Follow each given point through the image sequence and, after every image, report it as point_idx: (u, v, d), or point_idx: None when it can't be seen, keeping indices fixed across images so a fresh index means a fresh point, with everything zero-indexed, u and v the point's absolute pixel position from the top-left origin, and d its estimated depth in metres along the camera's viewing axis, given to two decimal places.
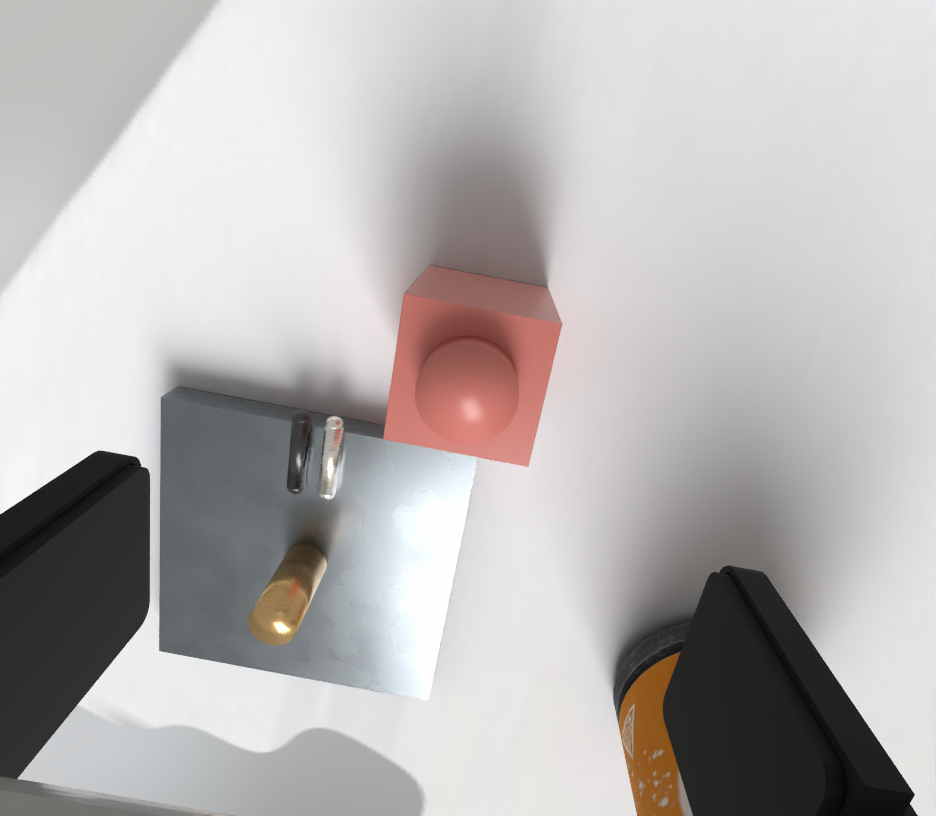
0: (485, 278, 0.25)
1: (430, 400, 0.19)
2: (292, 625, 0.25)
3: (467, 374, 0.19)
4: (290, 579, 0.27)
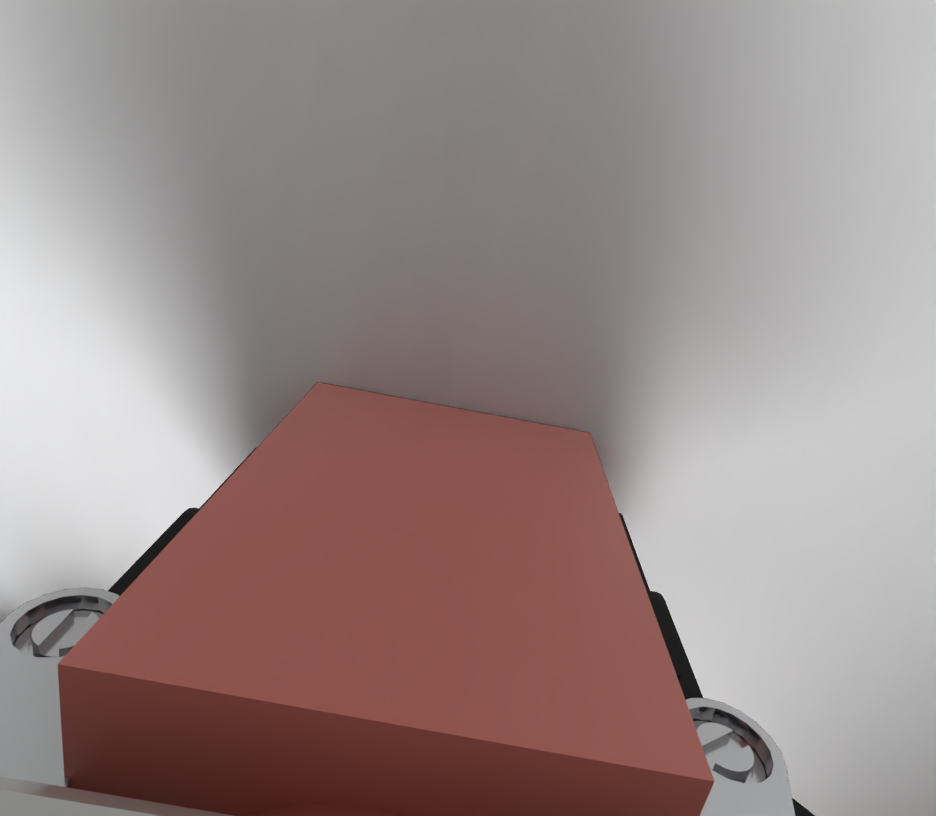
0: (443, 421, 0.11)
1: None
2: None
3: None
4: None
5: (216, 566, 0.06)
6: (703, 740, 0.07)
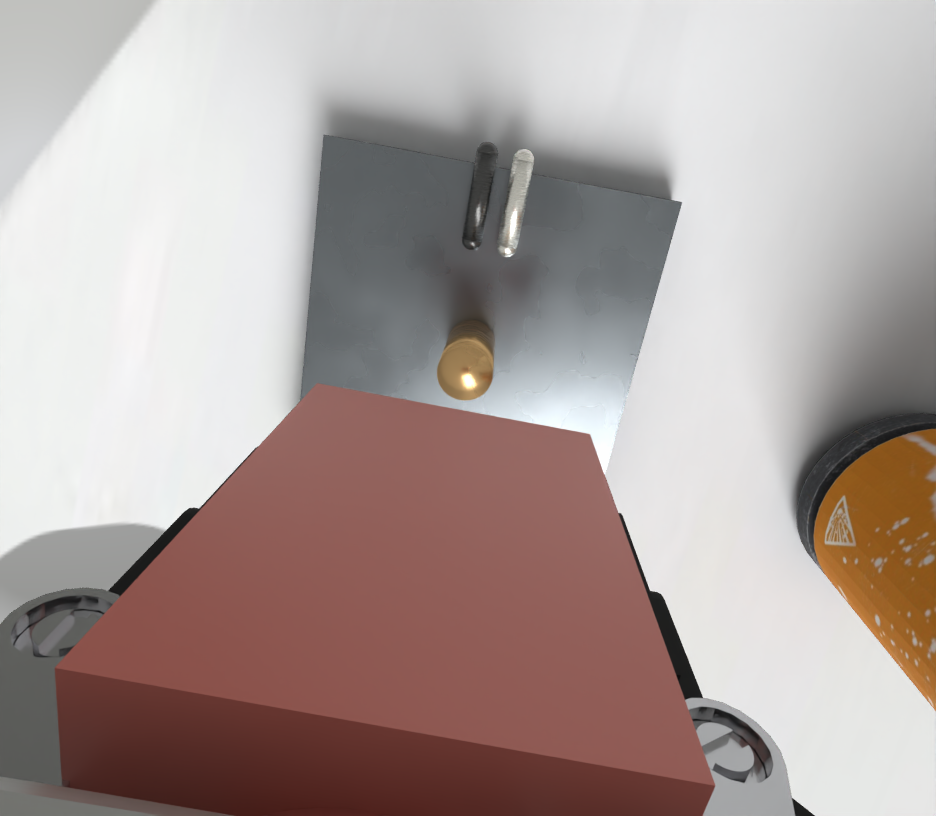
0: (443, 422, 0.10)
1: None
2: (488, 373, 0.22)
3: None
4: (474, 336, 0.23)
5: (215, 568, 0.06)
6: (702, 740, 0.07)
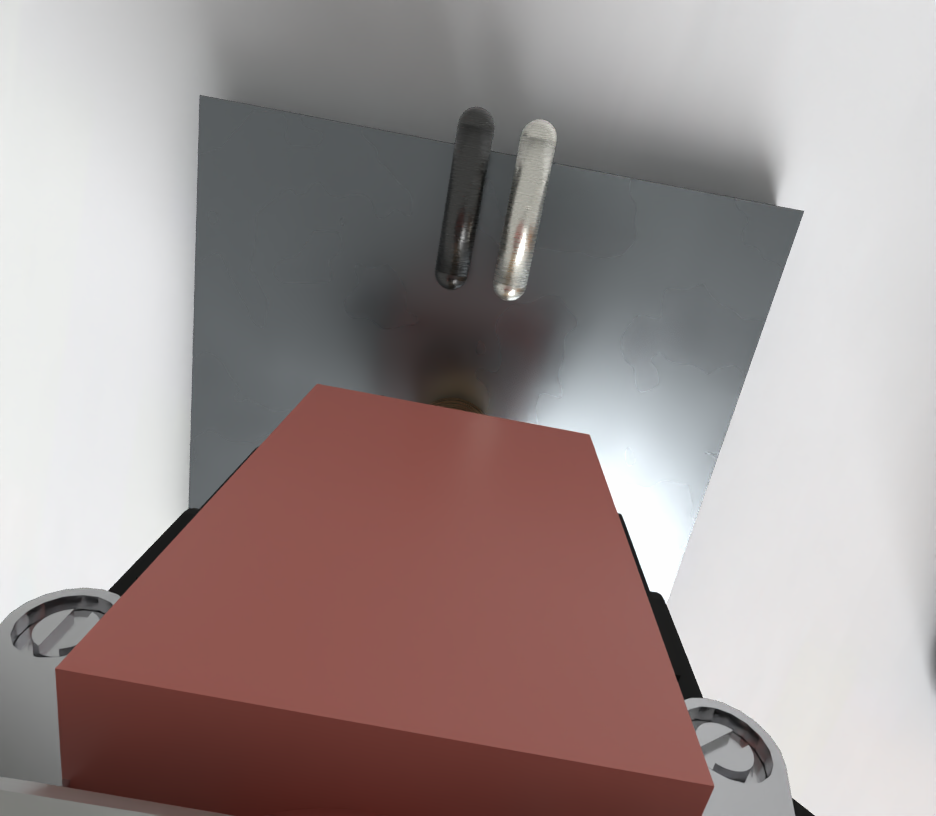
0: (443, 422, 0.10)
1: None
2: None
3: None
4: None
5: (215, 569, 0.06)
6: (703, 740, 0.07)
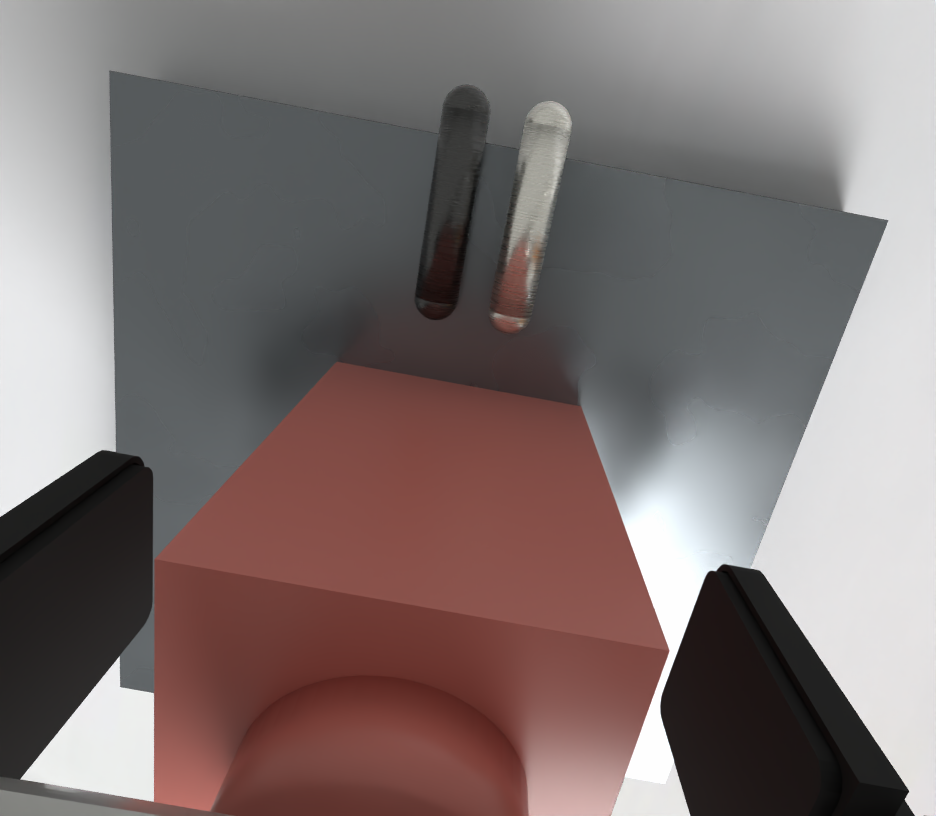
0: (450, 394, 0.12)
1: None
2: None
3: None
4: None
5: (267, 498, 0.07)
6: None
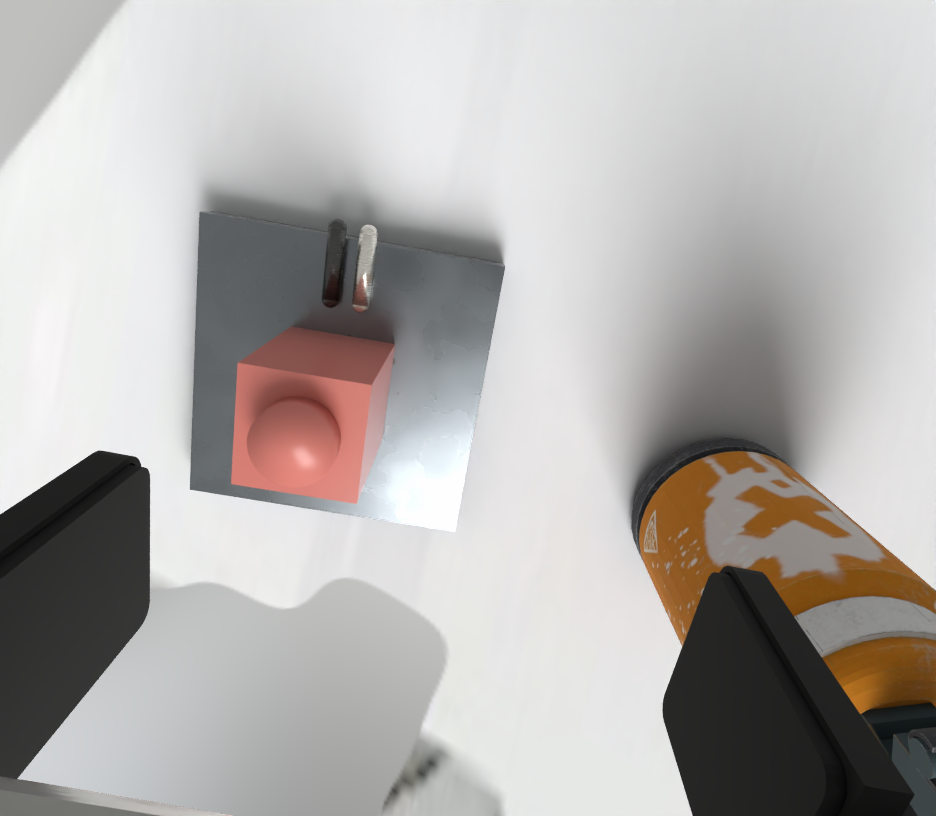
0: (337, 338, 0.29)
1: (260, 452, 0.23)
2: None
3: (288, 430, 0.23)
4: None
5: (265, 356, 0.24)
6: None
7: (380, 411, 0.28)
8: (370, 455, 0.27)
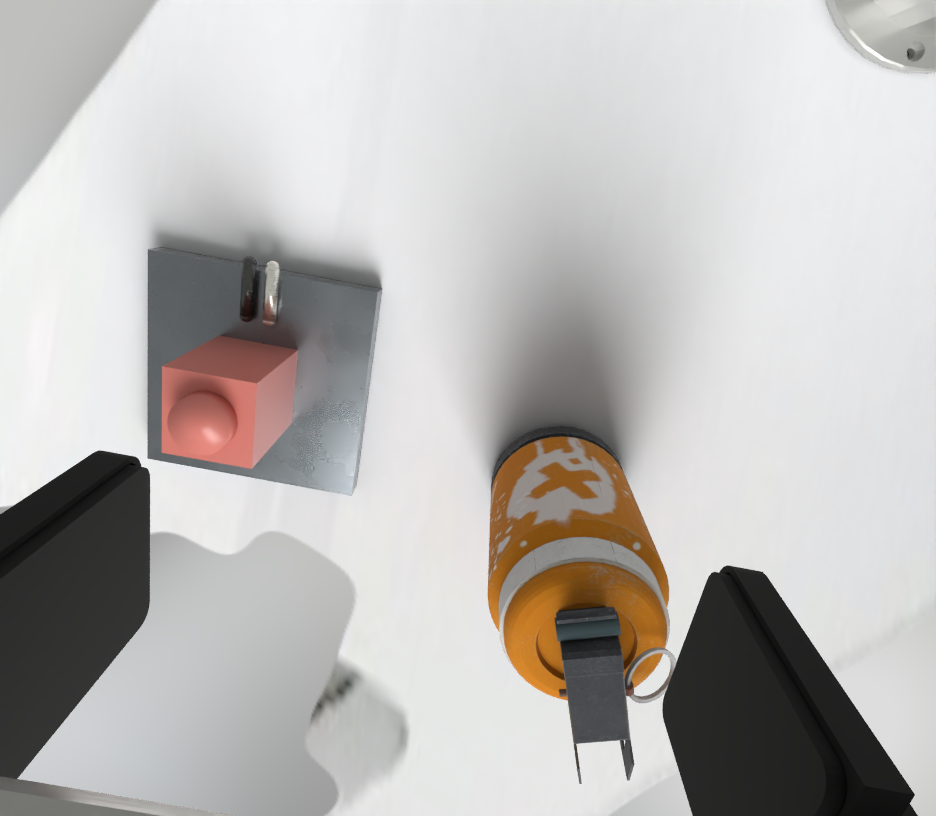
0: (252, 345, 0.38)
1: (177, 429, 0.32)
2: None
3: (195, 415, 0.32)
4: None
5: (186, 360, 0.34)
6: None
7: (280, 401, 0.37)
8: (269, 434, 0.36)
